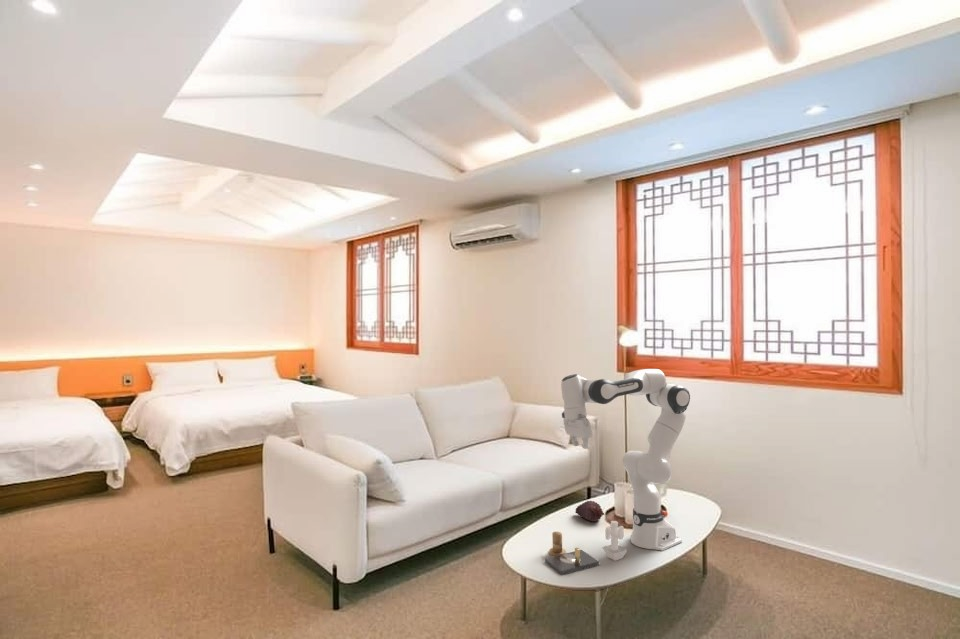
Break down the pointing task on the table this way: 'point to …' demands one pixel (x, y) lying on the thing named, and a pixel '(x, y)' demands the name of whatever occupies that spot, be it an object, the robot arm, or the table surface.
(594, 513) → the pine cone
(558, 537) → the flange hub
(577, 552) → the dowel
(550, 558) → the base plate
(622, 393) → the robot arm
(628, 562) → the table surface
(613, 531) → the figurine
